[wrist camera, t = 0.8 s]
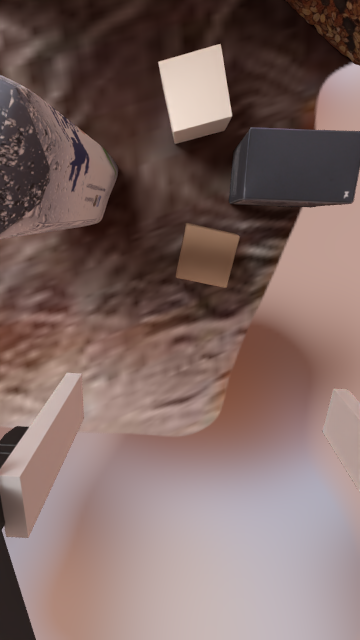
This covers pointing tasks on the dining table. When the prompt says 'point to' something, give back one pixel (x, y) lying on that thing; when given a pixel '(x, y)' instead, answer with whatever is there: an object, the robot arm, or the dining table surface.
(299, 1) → the bread
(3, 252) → the dining table surface
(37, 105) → the juice carton
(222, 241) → the walnut block
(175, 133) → the cream block
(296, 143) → the small box
